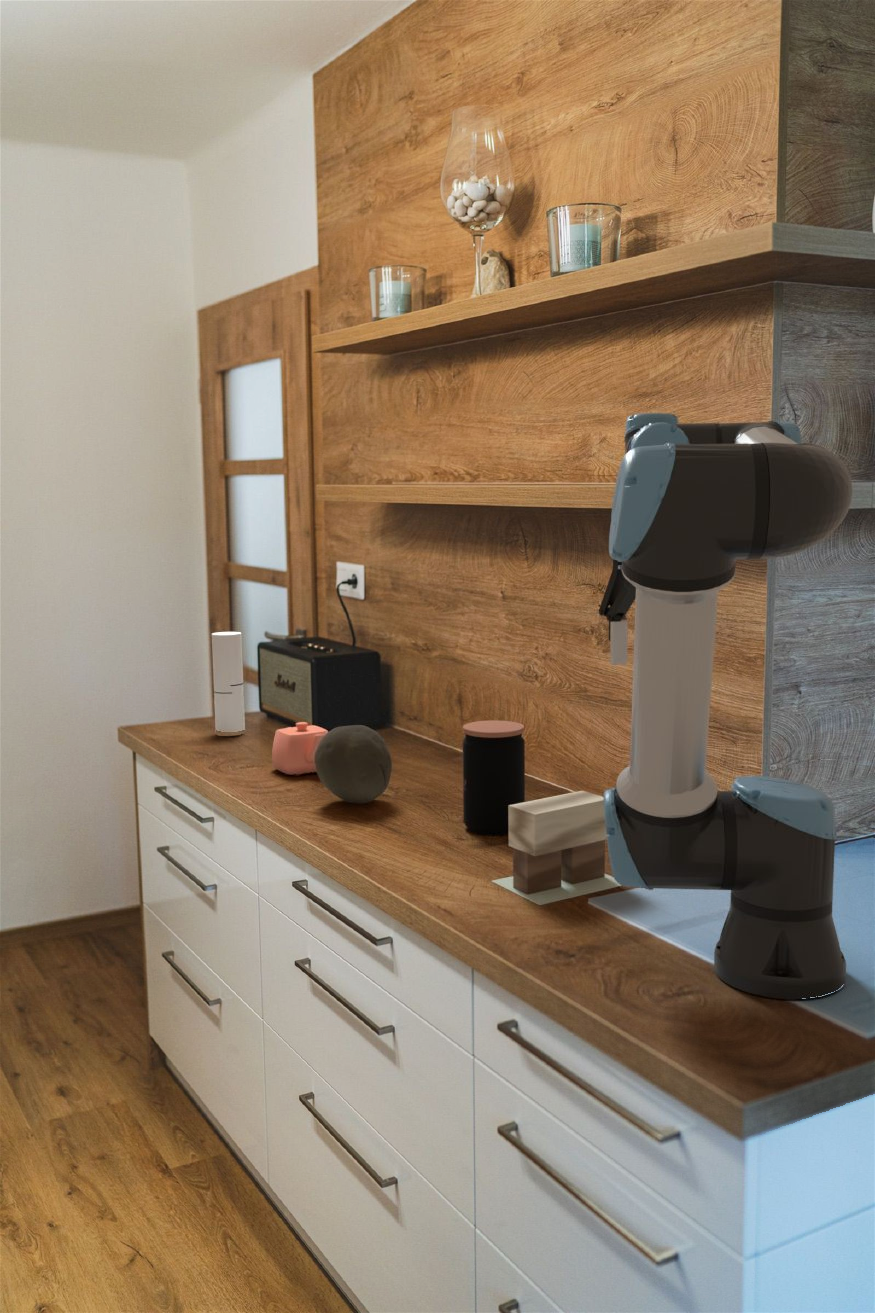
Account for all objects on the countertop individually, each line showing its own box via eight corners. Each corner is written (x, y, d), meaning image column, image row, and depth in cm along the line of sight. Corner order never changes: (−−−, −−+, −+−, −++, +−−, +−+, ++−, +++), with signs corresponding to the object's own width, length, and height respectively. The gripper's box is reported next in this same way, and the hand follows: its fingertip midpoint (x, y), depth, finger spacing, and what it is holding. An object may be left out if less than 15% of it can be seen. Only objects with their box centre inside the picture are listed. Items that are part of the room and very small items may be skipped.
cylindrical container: (249, 734, 282) (246, 633, 278) (222, 738, 278) (218, 635, 275) (238, 730, 288) (234, 631, 284) (211, 733, 284) (207, 633, 281)
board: (628, 891, 167) (628, 883, 167) (539, 913, 159) (539, 905, 158) (577, 869, 177) (577, 862, 177) (491, 888, 169) (491, 880, 169)
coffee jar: (488, 815, 207) (487, 718, 205) (536, 825, 201) (536, 724, 198) (451, 829, 199) (449, 727, 197) (500, 840, 193) (500, 735, 190)
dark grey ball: (379, 791, 226) (377, 716, 224) (401, 808, 213) (400, 729, 211) (309, 798, 221) (306, 721, 219) (327, 816, 208) (325, 735, 206)
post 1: (561, 887, 166) (561, 846, 165) (527, 894, 162) (527, 853, 162) (546, 880, 169) (546, 840, 168) (513, 887, 165) (513, 847, 165)
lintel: (609, 838, 168) (609, 798, 167) (534, 856, 160) (534, 814, 160) (582, 829, 173) (582, 790, 172) (508, 845, 165) (508, 805, 165)
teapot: (312, 760, 254) (310, 713, 252) (347, 776, 238) (346, 727, 237) (263, 766, 248) (261, 719, 247) (296, 784, 233) (295, 733, 231)
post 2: (604, 877, 170) (604, 837, 169) (572, 884, 167) (572, 844, 166) (589, 870, 173) (590, 832, 172) (557, 877, 170) (557, 838, 169)
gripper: (733, 523, 156) (730, 677, 159) (614, 521, 178) (613, 657, 180) (692, 525, 153) (689, 682, 155) (576, 523, 174) (575, 661, 177)
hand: (649, 669), depth 168 cm, fingers open, 13 cm apart
